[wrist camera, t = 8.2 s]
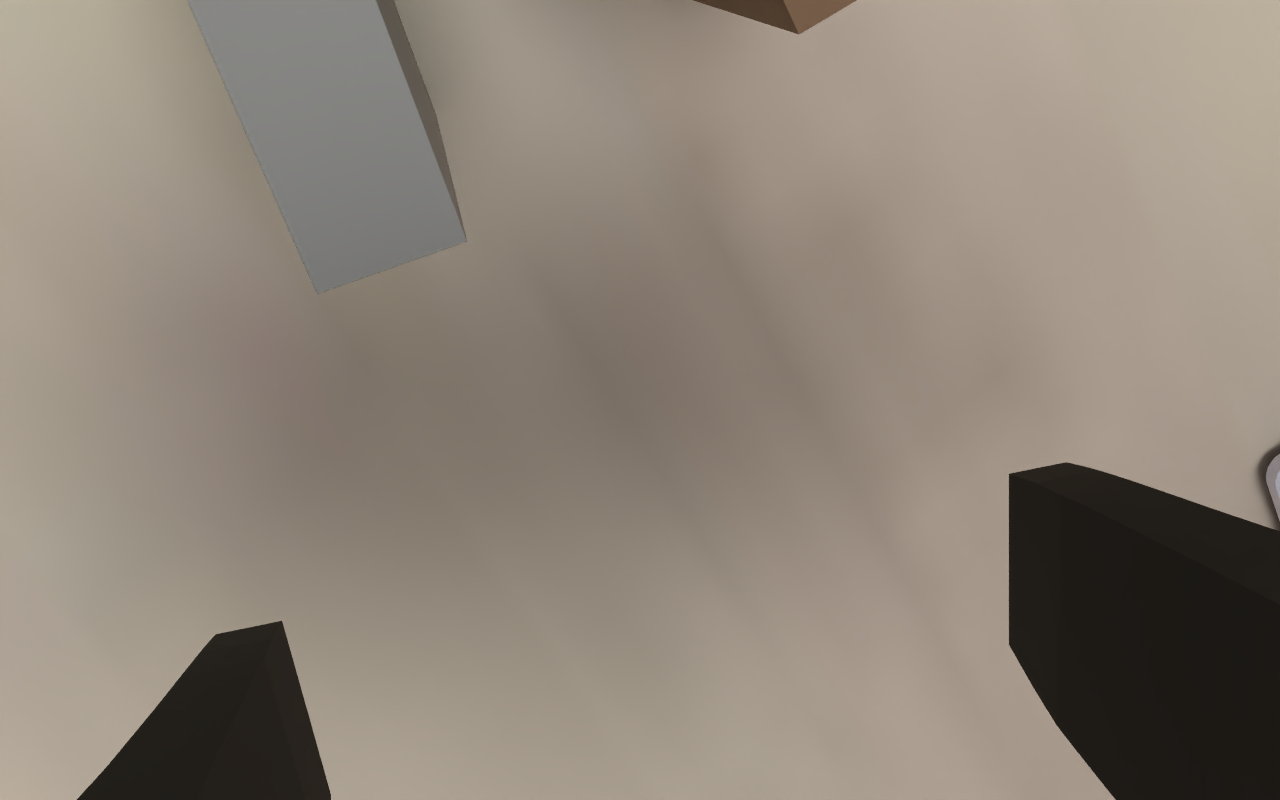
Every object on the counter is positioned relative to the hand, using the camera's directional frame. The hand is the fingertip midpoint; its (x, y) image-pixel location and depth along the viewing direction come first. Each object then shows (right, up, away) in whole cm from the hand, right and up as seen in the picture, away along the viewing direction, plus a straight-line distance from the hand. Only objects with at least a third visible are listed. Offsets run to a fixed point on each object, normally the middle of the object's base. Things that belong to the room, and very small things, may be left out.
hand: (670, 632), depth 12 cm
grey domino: (-5, +9, +7) cm, 12 cm away
